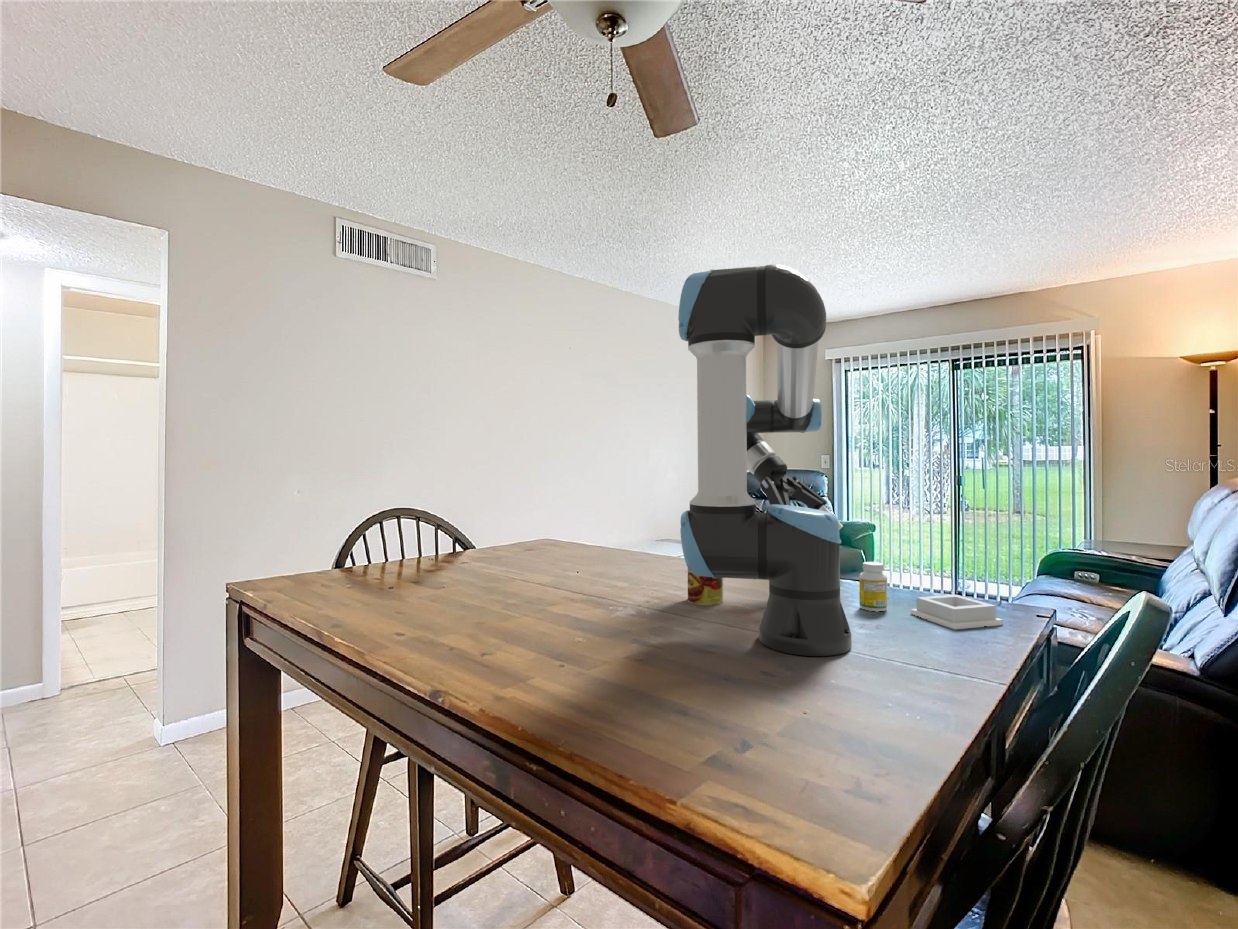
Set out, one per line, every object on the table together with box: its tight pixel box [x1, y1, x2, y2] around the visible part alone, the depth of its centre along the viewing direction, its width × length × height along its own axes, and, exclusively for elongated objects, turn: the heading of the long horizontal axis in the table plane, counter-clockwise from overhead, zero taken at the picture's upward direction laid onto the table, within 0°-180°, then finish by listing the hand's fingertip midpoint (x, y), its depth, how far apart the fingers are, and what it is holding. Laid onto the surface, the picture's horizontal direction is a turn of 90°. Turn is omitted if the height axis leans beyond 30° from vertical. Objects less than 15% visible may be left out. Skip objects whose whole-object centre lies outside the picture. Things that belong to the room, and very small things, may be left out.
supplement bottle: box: [859, 561, 888, 613], centre depth 122 cm, size 5×5×10 cm
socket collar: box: [910, 594, 1004, 630], centre depth 113 cm, size 11×11×4 cm
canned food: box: [687, 568, 724, 606], centre depth 130 cm, size 8×8×12 cm
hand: (824, 533), depth 129 cm, fingers open, 13 cm apart
